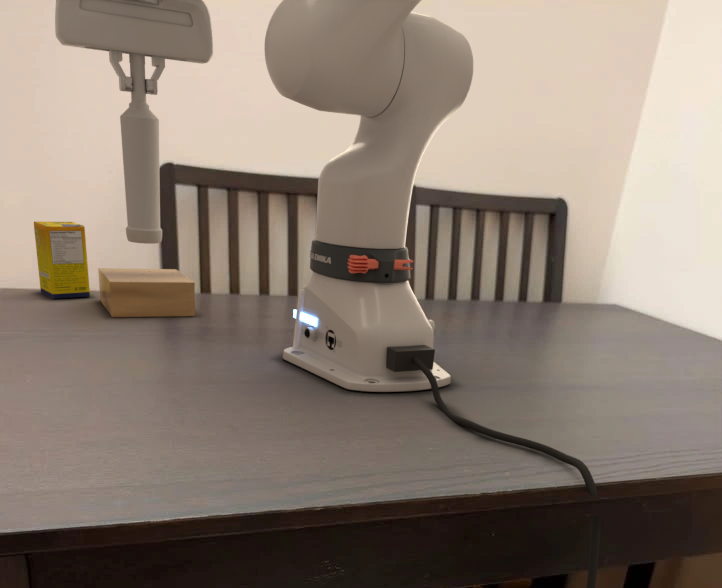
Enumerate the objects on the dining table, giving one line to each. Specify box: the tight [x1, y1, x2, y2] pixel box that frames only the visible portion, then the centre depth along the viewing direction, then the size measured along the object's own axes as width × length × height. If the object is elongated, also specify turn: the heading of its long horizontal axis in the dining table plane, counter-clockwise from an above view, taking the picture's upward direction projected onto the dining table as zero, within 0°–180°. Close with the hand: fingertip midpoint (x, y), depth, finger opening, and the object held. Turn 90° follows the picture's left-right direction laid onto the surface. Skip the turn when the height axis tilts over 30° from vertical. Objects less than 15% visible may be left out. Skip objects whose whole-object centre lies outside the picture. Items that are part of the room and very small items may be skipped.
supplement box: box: [33, 221, 91, 300], centre depth 114 cm, size 6×6×11 cm
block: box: [97, 267, 196, 318], centre depth 111 cm, size 12×12×5 cm
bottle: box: [119, 52, 163, 245], centre depth 103 cm, size 5×5×25 cm
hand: (138, 93), depth 100 cm, fingers closed on bottle, 2 cm apart
